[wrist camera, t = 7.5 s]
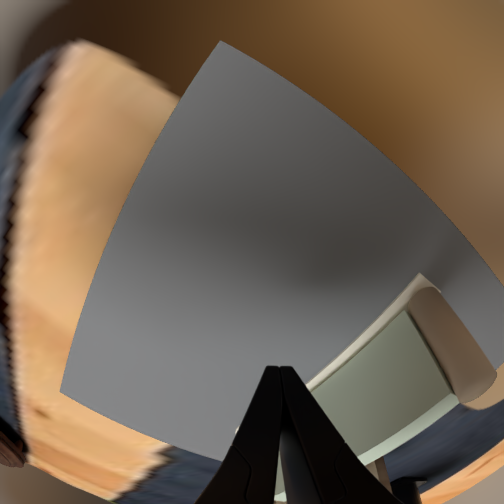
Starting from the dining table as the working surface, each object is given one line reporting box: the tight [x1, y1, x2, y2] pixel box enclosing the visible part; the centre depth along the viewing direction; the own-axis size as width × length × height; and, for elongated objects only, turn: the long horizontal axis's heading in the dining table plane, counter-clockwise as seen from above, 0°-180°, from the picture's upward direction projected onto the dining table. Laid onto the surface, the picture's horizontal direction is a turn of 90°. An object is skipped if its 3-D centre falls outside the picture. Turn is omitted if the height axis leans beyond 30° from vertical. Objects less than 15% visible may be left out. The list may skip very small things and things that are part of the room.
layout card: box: [60, 40, 504, 461], centre depth 15 cm, size 24×21×1 cm
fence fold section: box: [274, 287, 497, 502], centre depth 11 cm, size 12×2×5 cm, turn 146°
